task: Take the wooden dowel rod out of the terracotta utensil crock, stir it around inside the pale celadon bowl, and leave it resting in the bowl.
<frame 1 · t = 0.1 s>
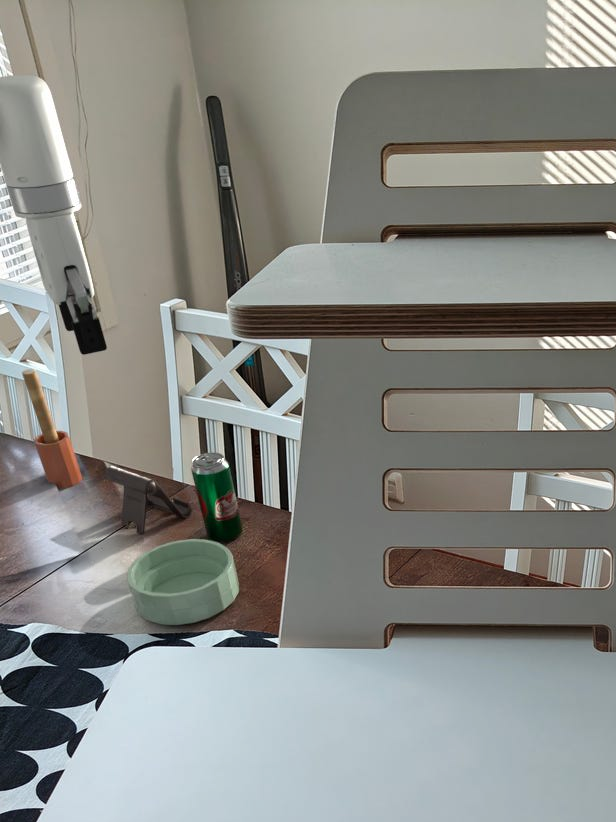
hand: (86, 339, 125), 28 cm above the table, tool pointing down, fingers open, 9 cm apart
tablet stand: (153, 520, 145), on the table
wooden dowel rod: (65, 480, 154), point 1 cm above the table, touching crock
bowl: (188, 598, 128), on the table
crock: (66, 484, 155), on the table
soda can: (225, 536, 141), on the table
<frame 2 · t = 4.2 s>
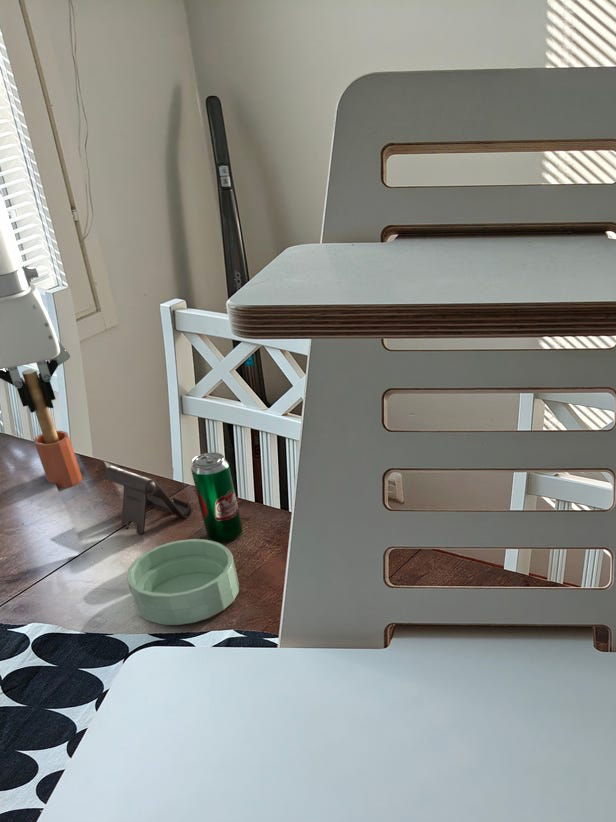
hand: (40, 406, 147), 13 cm above the table, tool pointing down, fingers closed on wooden dowel rod, 2 cm apart
wooden dowel rod: (65, 480, 154), point 1 cm above the table, touching gripper
everything else where it was.
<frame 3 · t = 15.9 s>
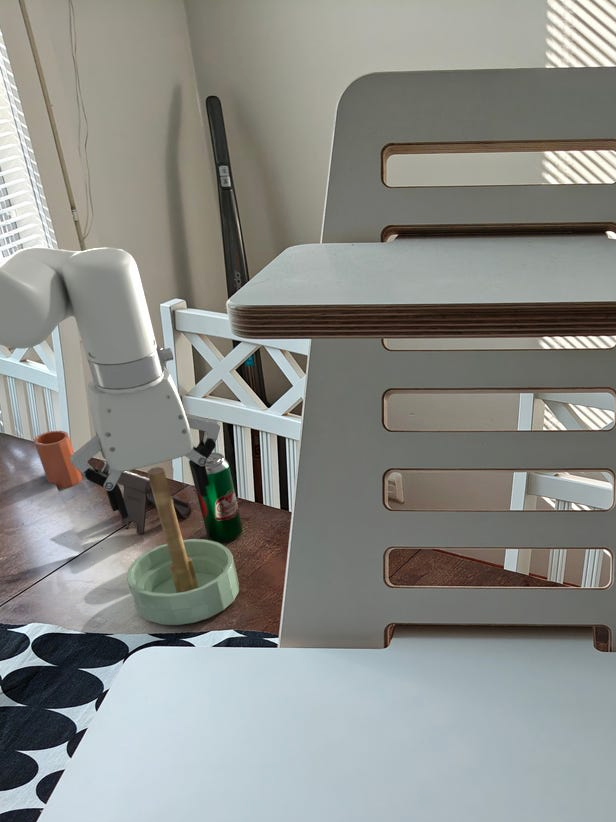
hand: (162, 502, 119), 14 cm above the table, tool pointing down, fingers open, 9 cm apart
wooden dowel rod: (188, 594, 128), point 1 cm above the table, touching bowl
everything else where it was.
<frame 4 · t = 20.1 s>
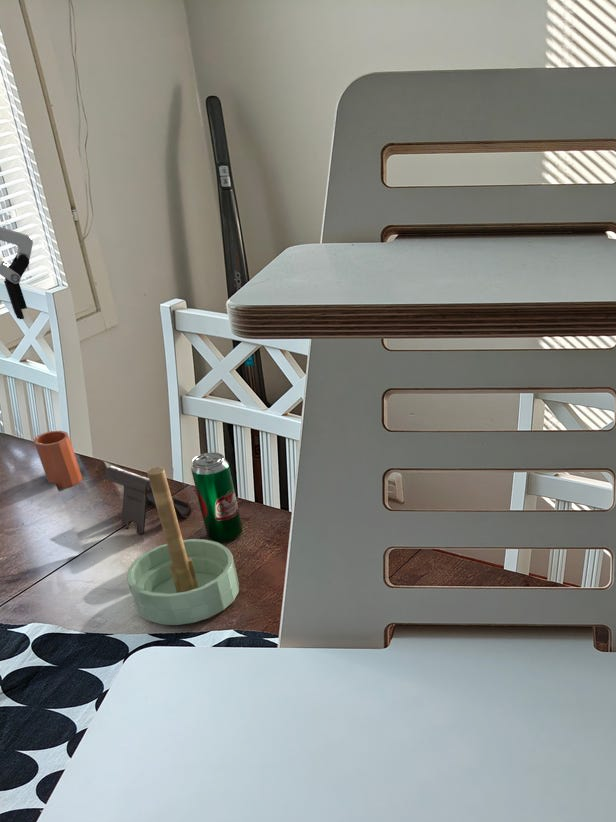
nothing on the table moved.
at the end: wooden dowel rod inside the target area in the bowl (0.1 cm from its centre), point 0.6 cm above the bowl's base; the gripper is holding nothing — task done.
